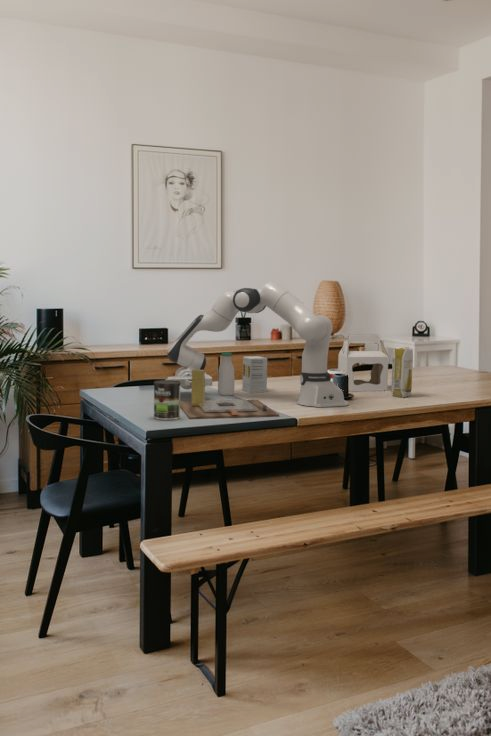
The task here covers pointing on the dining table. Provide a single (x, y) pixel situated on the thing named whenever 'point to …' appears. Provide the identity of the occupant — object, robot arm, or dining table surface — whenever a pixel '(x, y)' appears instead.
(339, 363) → the gable box
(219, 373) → the milk bottle
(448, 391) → the dining table surface
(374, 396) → the dining table surface
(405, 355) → the juice carton
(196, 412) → the base board
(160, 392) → the coffee can
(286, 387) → the dining table surface
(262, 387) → the supplement box
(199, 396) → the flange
